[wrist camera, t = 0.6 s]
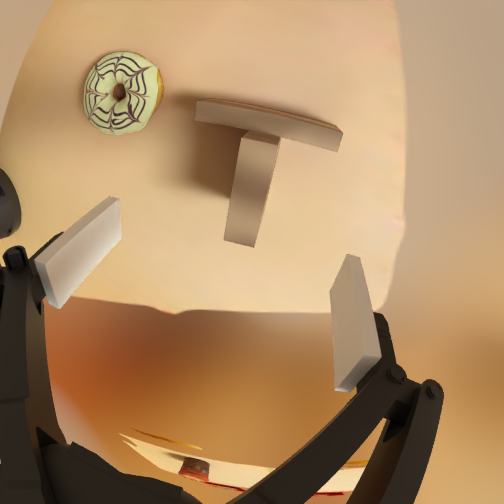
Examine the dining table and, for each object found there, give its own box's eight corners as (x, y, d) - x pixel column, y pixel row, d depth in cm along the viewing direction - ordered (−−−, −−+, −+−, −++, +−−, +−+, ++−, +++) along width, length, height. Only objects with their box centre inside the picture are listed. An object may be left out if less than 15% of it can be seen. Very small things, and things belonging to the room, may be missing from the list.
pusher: (308, 219, 35) (309, 261, 27) (198, 193, 35) (170, 227, 27) (336, 125, 28) (350, 141, 20) (211, 98, 28) (181, 104, 21)
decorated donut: (159, 136, 31) (145, 143, 28) (93, 125, 31) (75, 132, 28) (174, 54, 26) (160, 52, 22) (102, 53, 25) (84, 53, 22)
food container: (210, 461, 109) (205, 479, 100) (214, 467, 118) (210, 484, 109) (179, 454, 111) (174, 471, 102) (186, 461, 120) (181, 477, 111)
